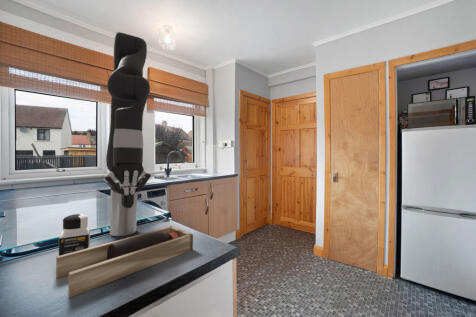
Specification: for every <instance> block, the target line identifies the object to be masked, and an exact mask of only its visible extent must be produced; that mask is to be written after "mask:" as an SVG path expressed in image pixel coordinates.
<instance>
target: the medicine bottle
mask: <svg viewBox="0 0 476 317" xmlns="http://www.w3.org/2000/svg"><path fill="white" fill-rule="evenodd" d="M88 217H89V216H88V215H86V214H83V213H75V214H70V215H67V216H65V217H64V218H63V219H62V231H61V233H60V234H59V235H60V236H59V237H58V256H61V255H64V254H68V253H72V252H76V251H79V250H83V249H87V248H91V246H90V245H91V244H90V242H91V240H90V239H91V227H90V226H88V223H89V222H88V221H89V220H88Z"/></svg>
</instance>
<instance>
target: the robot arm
mask: <svg viewBox="0 0 476 317" xmlns="http://www.w3.org/2000/svg"><path fill="white" fill-rule="evenodd" d="M147 45H148V44H147V42H146V41H145V40H144V39H143V38H141V37H138V36H135V35H132V34H128V33H124V32H120V31H118V32H116V33H115V34H114V38H113V72H111V74H110V75H109V77H108V79H107V85H106V87H107V88H106V89H107V91H108V93H109V95H110V96H111V103H110V125H109V135H108V141H107V142H108V144H107V149H106V158H105V161H106V162H105V163H106V168H107V169H108V171H109V173H107V174H106V175H103V176H102V177H101V178H102V180H103V181H104V183H105V184H107V186H108V187H109V189H110V208H109V210H110V219H109V220H110V221H109V222H110V223H109V234H110V236H113V237H124V236H129V235H132V234H134V233H136V232H137V221H138V220H137V215H138V213H137V212H138V193H139V192H141V191H142V189H143V188H144V187H145V185H146V183H147V182H148V181H149V180H150V178H151V177H152V176H151V174H150V173H147V171H145V170H144V169H145V168H144V166H143V162H144V160H143V158H144V135H143V122H144V121H143V119H144V111H145V107H146V104H147V100H148V98H149V95H150V91H151V86H150V83H149V81H148V80H147V78H145V77H144V67H145V65H146V61H147V54H148V52H147V51H148V47H147ZM115 178H116V179H115Z"/></svg>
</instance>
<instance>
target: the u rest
mask: <svg viewBox="0 0 476 317" xmlns="http://www.w3.org/2000/svg"><path fill="white" fill-rule="evenodd" d="M172 232H175V233H176V234H177V235H178V238H176V239H172V240H169V241H166V242H163V243H160V244H157V245H154V246H150V247H147V248H144V249H141V250H138V251H135V252H132V253H129V254H125V255H122V256H119V257H116V258H113V259H110V260H107V251H108V247H109V246H110V244H112V243H116V242H120V241H125V240H129V239H133V238H138V237H142V236H146V235H151V234H155V233H163V234H165V235H166V234H168V233H172ZM192 250H194V234H192V233H191V232H188V231H185V230H183V229H180V228H178V227H175V226H173V225H170V226H167V227H162V228H159V229H156V230H151V231H148V232H144V233H141V234H136V235H133V236H132V235H131V236H129V237H126V238H122V239H118V240H114V241H111V242H107V243H103V244H99V245H95V246H92V247H91V246H90V248H87V249H83V250H79V251H76V252H72V253H68V254H64V255H61V256H59V255H57V256H56V257H55V258H56V261H55V262H56V264H55V265H56V267H55V268H56V269H55V270H56V271H55V273H56V274H55V277H56V278H57V279H59V278H62V277H65V276H68V291H67V293H68V297H69V298H73V297H75V296H77V295H80V294H83V293H86V292H88V291H91V290H93V289H96V288H98V287H100V286H102V285H103V286H104V285H106V284H108V283H110V282H113V281H116V280H119V279H121V278H124V277H127V276H130V275H132V274H133V273H137V272H139V271H141V270H144V269H146V268H149V267H152V266H154V265H157V264H159V263H162V262H165V261H167V260H170V259H172V258H175V257H177V256H180V255H183V254H184V253H188V252H190V251H192Z"/></svg>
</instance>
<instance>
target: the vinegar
mask: <svg viewBox="0 0 476 317" xmlns="http://www.w3.org/2000/svg"><path fill="white" fill-rule="evenodd" d="M176 238H178V235H177V234H176V233H175V232H172V233H168V234H166V235H165V234H163V233H155V234H151V235H146V236H142V237H138V238H133V239H129V240H125V241H120V242H116V243H112V244H110V246H109V247H108V251H107V260H110V259H113V258H116V257H119V256H122V255H125V254H129V253H132V252H135V251H138V250H141V249H144V248H147V247H150V246H154V245H157V244H160V243H163V242H166V241H169V240H172V239H176Z"/></svg>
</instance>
